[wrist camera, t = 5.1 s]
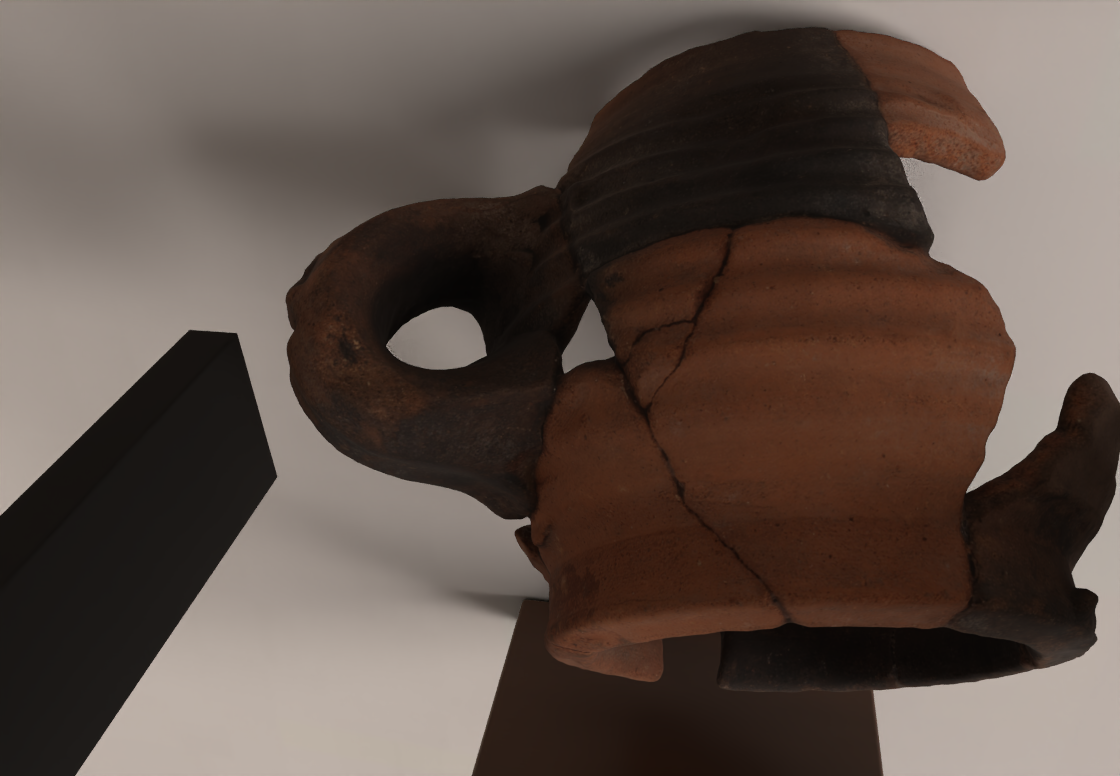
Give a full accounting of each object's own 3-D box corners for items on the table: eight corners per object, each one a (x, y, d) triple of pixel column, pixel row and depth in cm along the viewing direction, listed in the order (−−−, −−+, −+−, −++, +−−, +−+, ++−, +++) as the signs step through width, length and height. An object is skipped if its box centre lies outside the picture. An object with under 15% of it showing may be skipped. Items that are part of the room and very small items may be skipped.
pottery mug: (1185, 38, 12) (1413, 631, 9) (853, 344, 21) (902, 713, 17) (317, -143, 10) (164, 534, 7) (336, 277, 19) (271, 680, 15)
